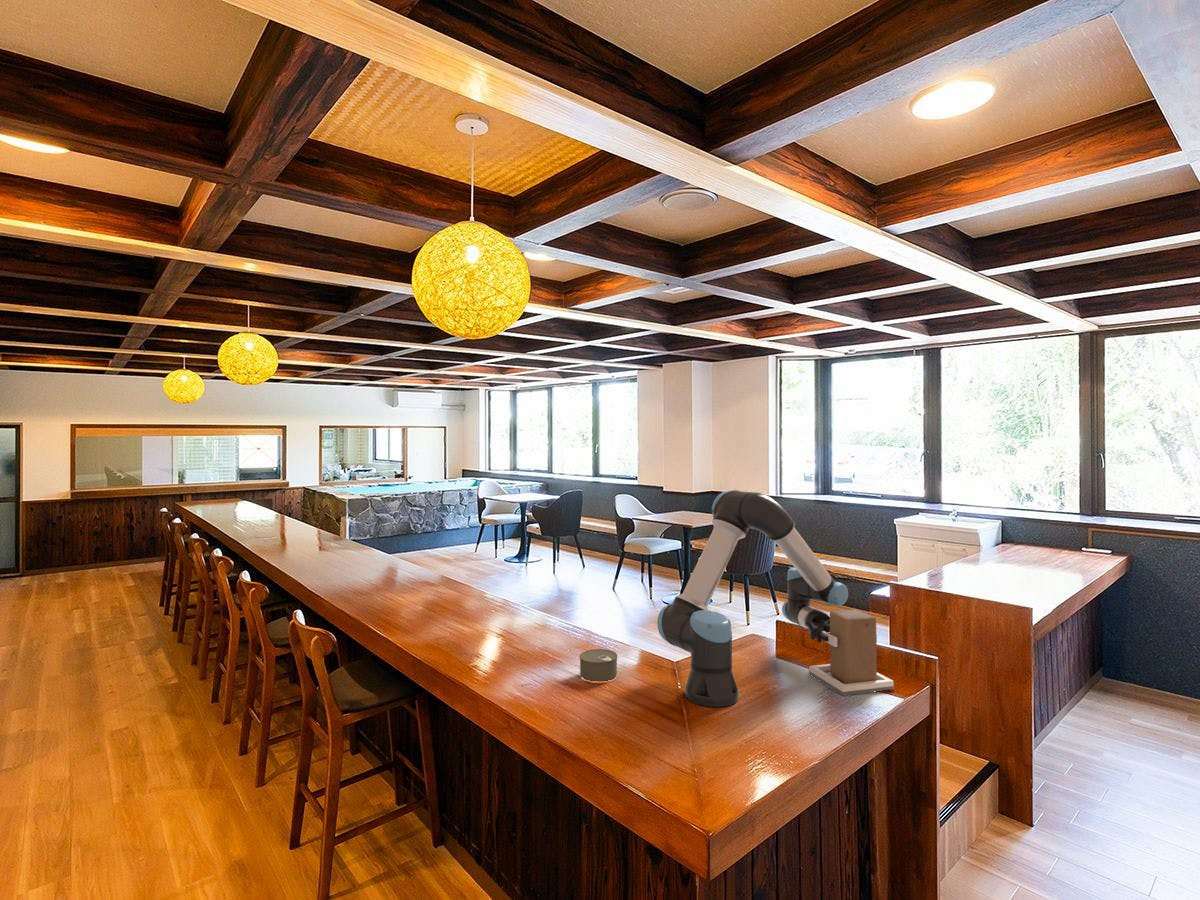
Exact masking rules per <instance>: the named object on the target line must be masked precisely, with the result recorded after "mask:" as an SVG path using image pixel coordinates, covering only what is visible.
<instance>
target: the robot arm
mask: <svg viewBox="0 0 1200 900" xmlns="http://www.w3.org/2000/svg"><path fill="white" fill-rule="evenodd" d="M711 511H712V512H711V515H712V517H713V518H712V520H711V523H712V526H713V529H712V532H711V534H710V535H709V537H708V540H707V542H706V544H705V546H704V548H703V550H702V552H701V554H700V557H699V558H698V561H697V563H696V565H695V567H694V568H693V571H692V573H691V575H690V577H689V579H688V581H687V584H686V585H685V588H684V590H683V592H682V593H680V594H677V595H676V596H675V597H674V598H673V602H672V603H669V604H667V605H665V606H663V607H662V608H661V610H659V611H660V612H659V613H658V617H657V619H656V620H657V621H656V624H657V625H656V626H657V628H658V629H657V630H658V633H659V635H660V636H661V638H662V639H663V640H664V641H666V642H667V643H668V644H670V645H672V646H673V647H677V648H679V649H681V650H684V651H685V652H687V653H690V670H689V674H688V677H687V681H686V684H685V688H684V691H685V695H686V696H685V697H687V698H688V699H689V700H688V699H687V698H686V699H687V700H688V701H689V702H692V703H693V704H695V705H699V706H702V705H703V707H708V706H709V707H708V708H723V707H728V706H731V705H734V704H736V703H737V702H738V701H739V688H738V686H737V683H736V679H735V676H734V672H733V665H732V664H733V630H732V622H731V620H730V619H729V618H728V617H727V616H726V615H725V614H723V613H720V612H718V611H711V610H709V608H708V606H709V604H710V602H711V599H712V598H713V596H714V594H715V591H716V589H717V587H718V585H719V582H720V581H721V579H722V576H723V574H724V571H725V570H726V568H727V566H728V563H729V561H730V559H731V557H732V555H733V553H734V551H735V548H736V546H737V544H738V541H739V540H741V539H745V538H746V536H747V534H748V532H749V529H751V530H757V531H758V532H761V533H762V534H764V535H765V536H766V538H767V539H768V540H769V541H772V542H775V544H776V545H777V546H778V548H779V549H780V550H781V552H782V553H783V554H784V555H785V556H786V558H787V559H788V561H789V562H790V563H791V564H792V566H793V567H790V568H789V569H788V570H787V577H786V578H787V579H786V581H787V582H786V585H787V600H786V601H784V602H783V605H782V608H781V610H782V612H781V613H782V614H783V616H784V617H785V619H787V620H789V622H791V623H793V624H796V625H798V626H800V627H802V628H804V629H805V631H806V632H808V635H809V638H810V639H811V640H813V641H814V640H815V639H817V640H816V642H817V643H822V641H823V642H825V643H827V644H829V646H830V645H832V646H834V647H837V637H835V636H833V635H831V634H830V615H828V614H827V612H824V611H822V610H819V609H817V608H815V607H813V606H811V600H813V601H816V602H820V603H824V604H827V605H830V606H836V607H842V606H843V605H844V604H846V602H847V600H848V599H849V590H848V587H847V585H845V584H844V583H842V582H840V581H835V579H834V578H833V577H832V576H831V575H830V573H829V572H828V571H827V569H826V568H825V566H824V565H823V564H822V562H821V561H820V560H819V559H818V557H817V556H816V554H815V553H814V551H812V549H811V548H810V547H809V545H808V543H807V542H806V541H805V540H804V538H803V537H802V536H801V534H800V533H799V532H798V530H797V529H796V527H795V522H794V519H793V518H792V517H791V516H790V514H789V513H788V512H787V510H786V509H785V508H784V507H783V506H781V504H780V503H778V502H777V501H776V500H775V499H773V498H772V497H770V496H769V495H767V494H766V493H765V494H764V493H762V492H757V491H756V492H753V491H740V490H737V489H734V490H726V491H723V492H721V493H719V494H718V495H717V496H716V497H715V499H714V501H713V503H712V506H711ZM877 638H878V635H877V633H876V644H877V642H878V639H877Z"/></svg>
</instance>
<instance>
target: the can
mask: <svg viewBox="0 0 1200 900" xmlns="http://www.w3.org/2000/svg"><path fill="white" fill-rule="evenodd" d="M579 669H580V670H579V671H580V672H579V673H580V674H579V676H580V675H581V677H583V678H584V679H586V680H590V681H608V680H612V679H614V678H615V677H616V675H617V676H618V653H616V652H614V651H612V650H609V649H603V648H599V649H598V648H597V649H595V648H594V649H588V650H586V651H583V652H581V653H580V654H579Z"/></svg>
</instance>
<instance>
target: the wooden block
mask: <svg viewBox="0 0 1200 900" xmlns="http://www.w3.org/2000/svg"><path fill="white" fill-rule="evenodd" d="M829 617H830V632H829V634H831V635H833V636H835V637H837V647H834V646H832V645H830V644H829V659H830V660H829V661H830V662H829V664H830V672H831V675H833V676H834V677H836V678H837V679H839V680H840V681H841V682H843V683H844V684H851V683H860V682H869V681H877V671H878V670H877V668H878V667H877V658H878V657H877V643H876V634H877V619H876V617H875V616H873V615H870V614H868V613H865V612H863V611H861V610H859V609H842V610H841V609H840V610H832V611H830V612H829Z"/></svg>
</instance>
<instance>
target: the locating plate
mask: <svg viewBox="0 0 1200 900" xmlns="http://www.w3.org/2000/svg"><path fill="white" fill-rule="evenodd" d="M809 674H810V675H812V676H813V677H812V676H811V677H812V678H814V677H815V678H816V679H815V678H814V679H815V680H817V679H818V680H820V681H821V682H823V683H824V684H823V683H822V684H823V685H824V686H826V685H827V686H826V687H828V686H829V687H830V688H829V687H828V688H829V689H831V690H832V689H833V691H834V692H836V693H837V694H839V695H840V696H842V697H846V696H847V695H849V696H855V695H854V694H857V695H862V694H861V693H865V694H869V693H868V692H874V691H880V690H889V689H895V688H894V680H893V679H891V678H889V677H887V676H885V675H883V674H881V673H879V672H877V681H869V682H860V683H851V684H844V683H843V682H841V681H840V680H839V679H837V678H836V677H834V676H833V675H831V672H830V663H826V664H815V665H809V666H808V675H809ZM810 675H809V676H810ZM818 680H817V681H818ZM820 681H819V682H820ZM821 682H820V683H821ZM874 693H875V692H874ZM847 697H848V696H847Z"/></svg>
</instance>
